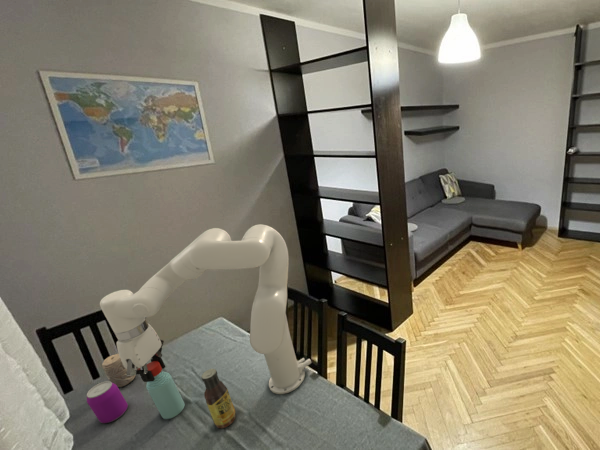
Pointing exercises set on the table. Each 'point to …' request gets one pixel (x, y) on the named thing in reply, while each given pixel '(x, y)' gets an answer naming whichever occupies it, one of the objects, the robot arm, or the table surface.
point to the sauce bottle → (218, 399)
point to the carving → (116, 371)
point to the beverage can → (106, 401)
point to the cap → (154, 368)
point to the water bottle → (165, 395)
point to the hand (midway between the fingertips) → (154, 373)
